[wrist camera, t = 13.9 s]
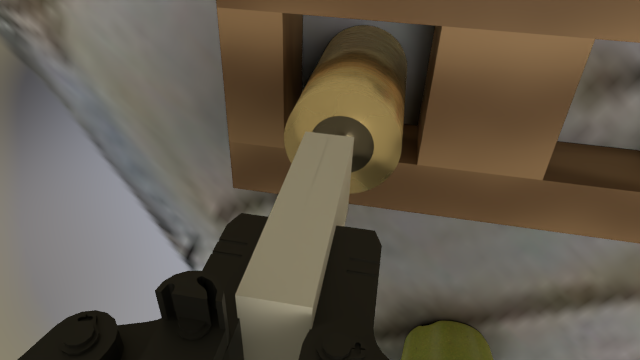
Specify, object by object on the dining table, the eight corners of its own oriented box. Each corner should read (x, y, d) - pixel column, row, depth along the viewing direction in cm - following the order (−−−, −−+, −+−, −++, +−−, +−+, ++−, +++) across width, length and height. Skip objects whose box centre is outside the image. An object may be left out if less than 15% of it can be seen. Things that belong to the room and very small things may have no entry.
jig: (690, 204, 24) (732, 256, 21) (255, 150, 27) (233, 187, 24) (845, -45, 18) (941, -25, 14) (243, -79, 21) (209, -69, 17)
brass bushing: (401, 111, 24) (394, 200, 18) (320, 104, 25) (285, 187, 18) (412, 28, 22) (408, 96, 15) (322, 22, 23) (281, 84, 16)
